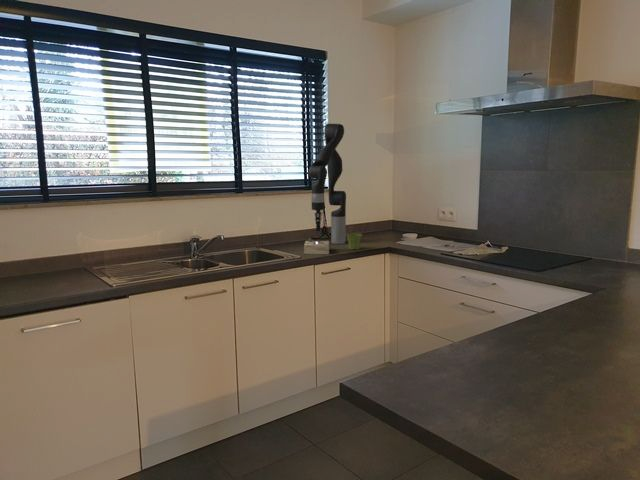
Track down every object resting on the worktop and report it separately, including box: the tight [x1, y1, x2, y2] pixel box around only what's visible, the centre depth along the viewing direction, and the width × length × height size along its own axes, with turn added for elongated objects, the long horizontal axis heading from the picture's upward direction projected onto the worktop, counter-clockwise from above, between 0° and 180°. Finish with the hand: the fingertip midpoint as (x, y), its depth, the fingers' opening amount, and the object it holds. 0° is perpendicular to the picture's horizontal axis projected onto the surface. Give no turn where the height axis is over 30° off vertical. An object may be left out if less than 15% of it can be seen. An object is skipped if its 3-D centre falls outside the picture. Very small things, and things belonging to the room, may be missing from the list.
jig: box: [303, 237, 330, 255], centre depth 271 cm, size 16×14×7 cm
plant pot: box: [346, 233, 363, 250], centre depth 278 cm, size 9×9×9 cm
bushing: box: [314, 240, 323, 244], centre depth 271 cm, size 4×4×6 cm
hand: (318, 230), depth 270 cm, fingers open, 6 cm apart
